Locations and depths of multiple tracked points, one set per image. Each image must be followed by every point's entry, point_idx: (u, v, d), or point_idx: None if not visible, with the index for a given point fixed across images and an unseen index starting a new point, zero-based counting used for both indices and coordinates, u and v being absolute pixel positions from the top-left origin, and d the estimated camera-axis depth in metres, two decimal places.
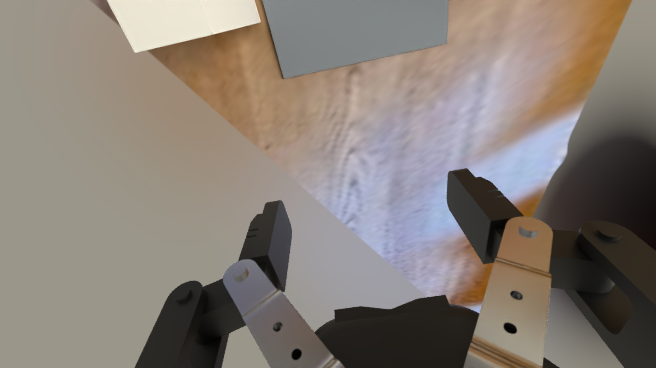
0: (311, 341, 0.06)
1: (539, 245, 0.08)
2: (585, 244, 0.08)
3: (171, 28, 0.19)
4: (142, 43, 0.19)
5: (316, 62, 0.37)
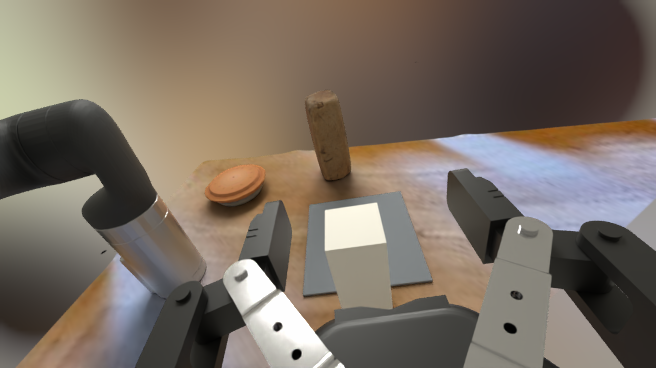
0: (311, 341, 0.06)
1: (539, 245, 0.08)
2: (585, 244, 0.08)
3: (372, 219, 0.29)
4: (380, 236, 0.27)
5: (416, 255, 0.45)
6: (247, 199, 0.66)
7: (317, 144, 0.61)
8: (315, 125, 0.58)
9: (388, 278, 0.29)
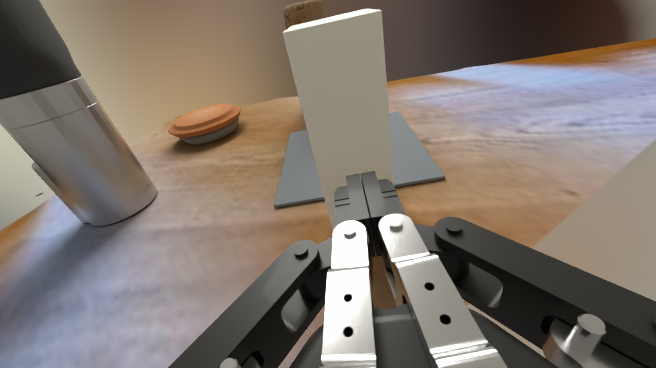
0: (365, 331, 0.06)
1: (397, 238, 0.09)
2: (445, 244, 0.09)
3: (359, 12, 0.19)
4: (371, 11, 0.17)
5: (421, 157, 0.35)
6: (218, 135, 0.56)
7: None
8: None
9: (386, 104, 0.19)
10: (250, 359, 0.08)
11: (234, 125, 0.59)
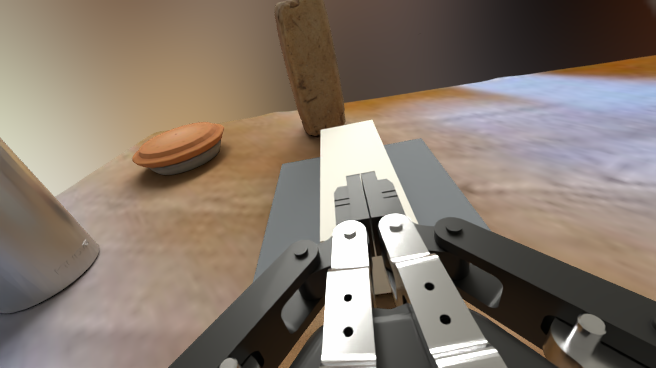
0: (365, 331, 0.06)
1: (397, 238, 0.09)
2: (445, 244, 0.09)
3: None
4: None
5: (468, 220, 0.24)
6: (193, 163, 0.45)
7: (293, 73, 0.41)
8: (288, 37, 0.38)
9: (379, 140, 0.27)
10: (250, 359, 0.08)
11: (214, 150, 0.48)
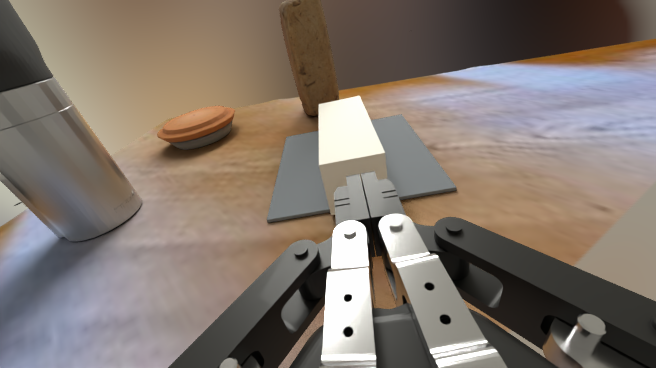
0: (365, 331, 0.06)
1: (397, 238, 0.09)
2: (445, 244, 0.09)
3: None
4: None
5: (429, 165, 0.32)
6: (210, 139, 0.53)
7: (295, 61, 0.48)
8: (291, 31, 0.46)
9: (363, 108, 0.35)
10: (250, 359, 0.08)
11: (227, 129, 0.55)
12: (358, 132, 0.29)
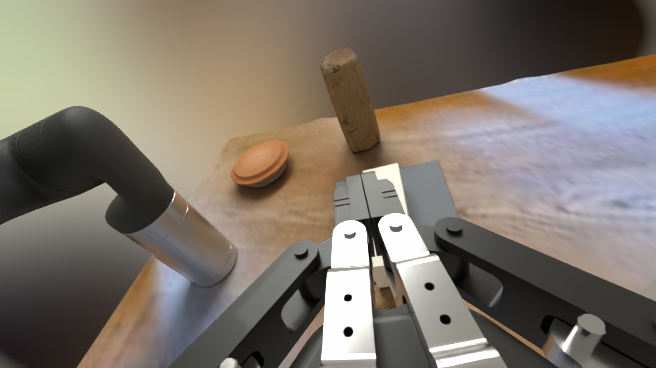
0: (365, 331, 0.06)
1: (397, 238, 0.09)
2: (445, 244, 0.09)
3: None
4: None
5: None
6: (272, 179, 0.64)
7: (338, 114, 0.54)
8: (333, 92, 0.51)
9: (401, 187, 0.42)
10: (250, 359, 0.08)
11: (284, 166, 0.65)
12: None
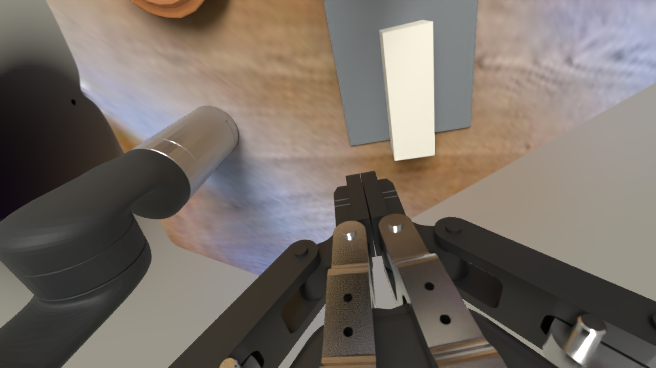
0: (365, 331, 0.06)
1: (397, 238, 0.09)
2: (445, 244, 0.09)
3: (419, 22, 0.36)
4: (427, 22, 0.34)
5: (464, 99, 0.43)
6: None
7: None
8: None
9: (432, 71, 0.36)
10: (250, 359, 0.08)
11: None
12: (421, 123, 0.40)
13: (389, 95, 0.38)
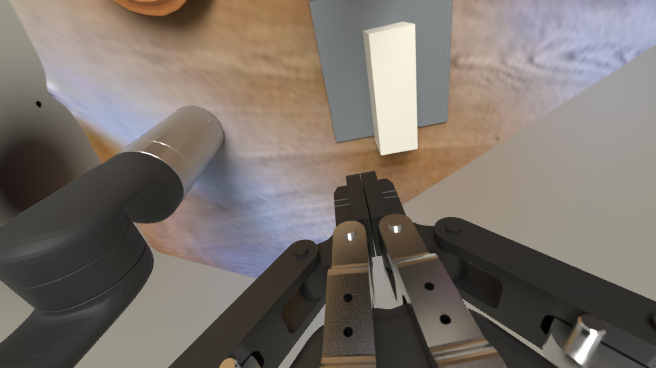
0: (365, 331, 0.06)
1: (397, 238, 0.09)
2: (445, 244, 0.09)
3: (401, 23, 0.38)
4: (409, 24, 0.36)
5: (441, 95, 0.46)
6: None
7: None
8: None
9: (414, 70, 0.38)
10: (250, 359, 0.08)
11: None
12: (405, 119, 0.42)
13: (375, 93, 0.40)
